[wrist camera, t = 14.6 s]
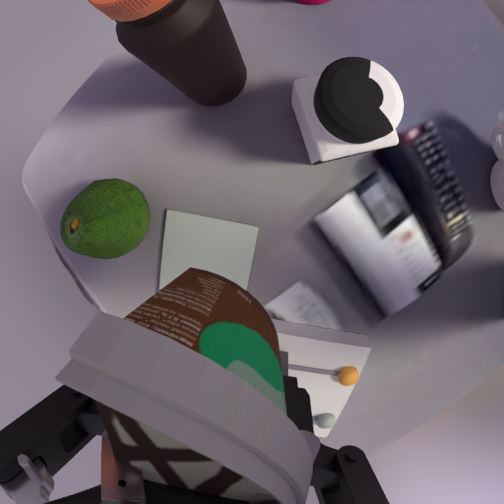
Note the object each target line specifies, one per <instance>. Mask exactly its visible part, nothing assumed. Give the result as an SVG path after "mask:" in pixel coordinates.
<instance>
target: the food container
mask: <svg viewBox="0 0 504 504" xmlns="http://www.w3.org/2000/svg"><path fill="white" fill-rule="evenodd" d="M69 352H70V356H71V358H72V359H71V360H70V361H69V363H68V364H67V365H66V366H65V367H64V368H63V369H62V370H61V372H60V373H59V374H58V375H57V376H56V377H55V378H56V380H57V381H59V382H61V383H63V384H65V385H67V386H68V387H70V388H72V389H74V390H77V391H79V392H81V393H83V394H85V395H87V396H89V397H91V398H93V399H95V402H96V404H97V406H98V409H99V411H100V414H101V417H102V420H103V423H104V426H105V429H106V432H107V435H108V437H109V440H110V444H111V447H112V450H113V454H114V457H116V458H117V460H118V461H120V462H123V461H125V462H127V463H130V464H133V465H136V466H138V467H141V468H142V472H143V479H146V480H150V481H153V482H157V483H161V484H166V485H169V486H173V487H176V488H181V489H187V490H192V491H197V492H202V493H207V494H211V495H216V496H221V497H226V498H232V499H237V500H244V501H249V502H250V501H251V500H252V498H253V497H254V495H255V494H256V493H264V494H271V495H272V496H273V497H274V498H275V499H277V500H278V501H279V502H280V503H281V504H296V502H297V504H305V502H306V498H307V494H308V490H309V486H310V482H311V477H312V473H313V458H312V455H311V452H310V449H309V446H308V443H307V441H306V440H305V438H304V437H303V435H302V434H301V432H300V431H299V429H298V428H297V427H296V425H295V424H294V423H293V422H292V421H291V420H290V419H289V418H288V417H287V411H286V402H285V393H284V384H283V375H282V366H281V357H280V349H279V341H278V335H277V332H276V329H275V326H274V324H273V322H272V320H271V318H270V316H269V315H268V313H267V312H266V310H265V309H264V308H263V307H262V305H261V304H260V303H259V302H258V301H257V300H256V299H255V298H254V297H253V296H252V295H251V294H250V293H249V292H248V291H246V290H245V289H243V288H242V287H241V286H239V285H238V284H236V283H235V282H233V281H231V280H229V279H227V278H225V277H223V276H221V275H218V274H215V273H212V272H210V271H207V270H202V269H197V268H192V267H190V268H189V269H187V270H186V271H185V272H183V273H182V274H181V275H179V276H178V277H177V278H175V279H174V280H173V281H171V282H170V283H169V284H167V285H166V286H165V287H164V288H162V289H161V290H160V291H158V292H157V293H156V294H154V295H153V296H152V297H150V298H149V299H148V300H147V301H145V302H144V303H143V304H141V305H140V306H139V307H138V308H136V309H135V310H134V311H132V312H131V313H130V314H129V315H127V316H126V317H125V318H123V319H122V318H119V317H116V316H112V315H109V314H106V313H103V312H100V311H99V312H98V314H97V315H96V316H95V318H94V319H93V320H92V321H91V322H90V324H89V325H88V326H87V328H86V329H85V330H84V332H83V333H82V334H81V335H80V337H79V338H78V339H77V341H76V342H75V344H74V345H73V346H72V347H71V349H70V350H69Z"/></svg>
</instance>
